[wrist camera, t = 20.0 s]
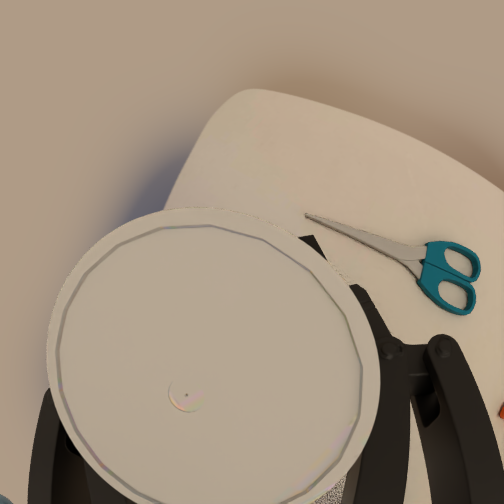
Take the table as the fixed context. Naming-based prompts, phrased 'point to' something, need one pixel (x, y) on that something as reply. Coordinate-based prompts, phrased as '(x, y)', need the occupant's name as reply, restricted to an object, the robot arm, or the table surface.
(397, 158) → the table surface
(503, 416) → the magnifying glass
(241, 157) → the table surface
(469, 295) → the scissors
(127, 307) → the bottle
